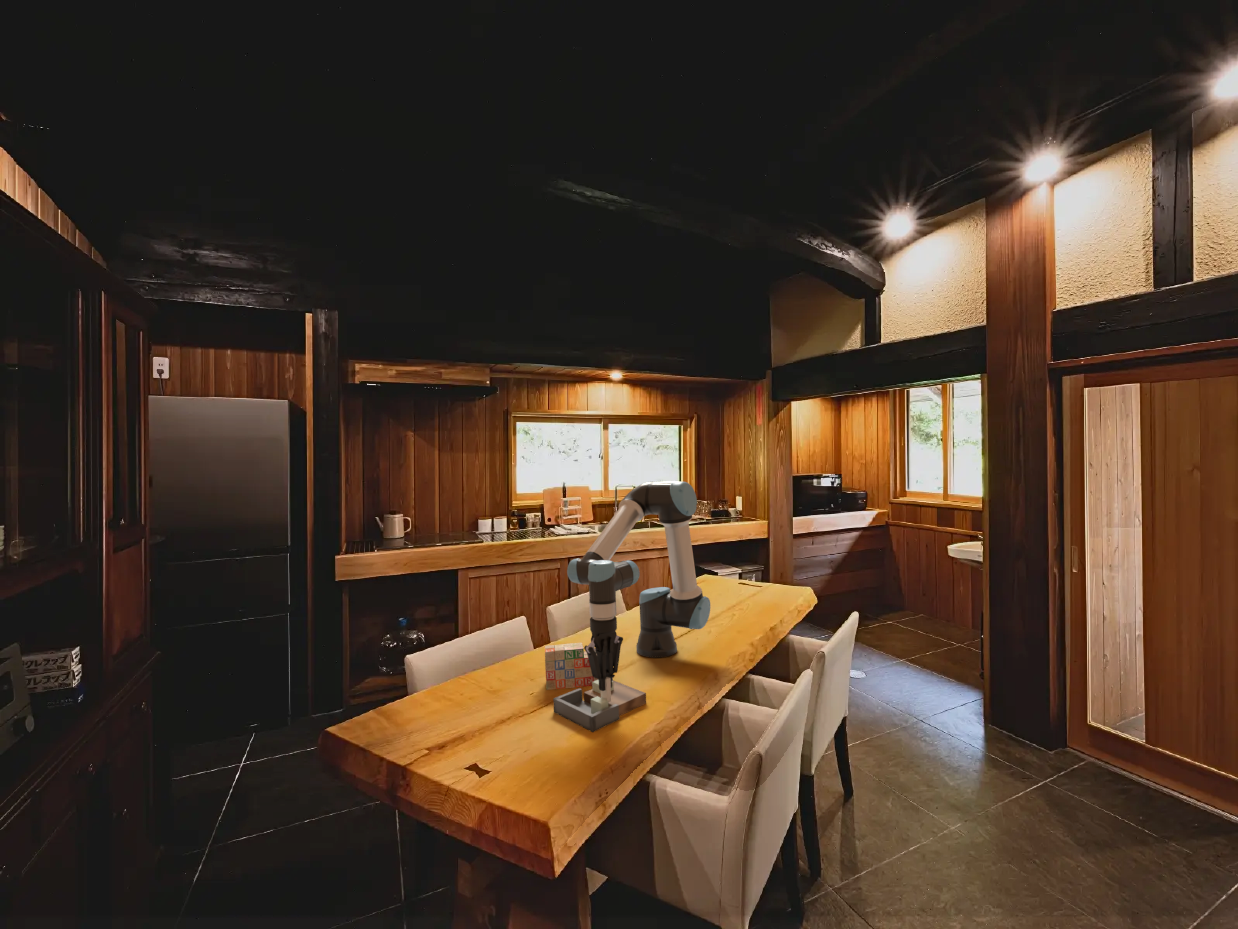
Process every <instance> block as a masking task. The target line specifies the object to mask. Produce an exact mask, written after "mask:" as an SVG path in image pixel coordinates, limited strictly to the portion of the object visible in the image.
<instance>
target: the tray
mask: <svg viewBox="0 0 1238 929" xmlns="http://www.w3.org/2000/svg"><path fill="white" fill-rule="evenodd" d="M552 700H553V713H554V714H555V715H557V716H560V717H562V718H564V719H565V720H569V721H570V722H572V723H574V724H576V725H578V726H580V727H582V728H584V729H586V730H587V731H590V732H592V733H594V732H596V731H598V730H601V729H602V728H604V727H606V726H608V725H610V724H613V723H615V722H617V721H619V720H620V718H621V717H620V716H619V705H617V704H614V705H612V706H610V707H607V708H605V709H603V710H601V711H598V712H596V713H594V714H591V704H590V703H587V702H585V701H584V699H583V689H582V688H581V687H578V688H577V689H573V690H572V691H569V692H566V693H564V694H562V695H561V694H560V695H559V696H556V697H554V698H553V699H552Z"/></svg>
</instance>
